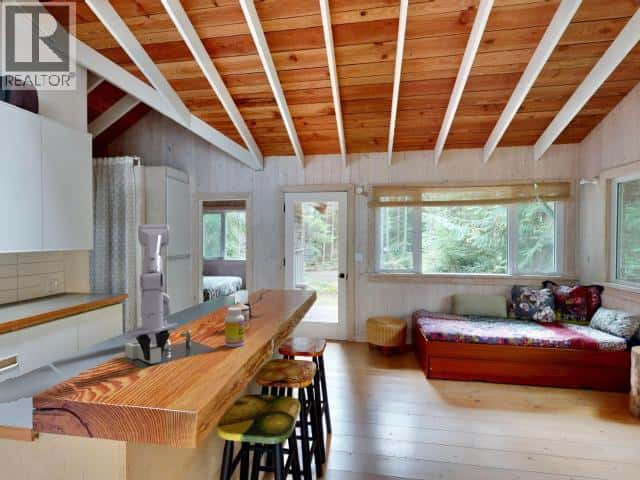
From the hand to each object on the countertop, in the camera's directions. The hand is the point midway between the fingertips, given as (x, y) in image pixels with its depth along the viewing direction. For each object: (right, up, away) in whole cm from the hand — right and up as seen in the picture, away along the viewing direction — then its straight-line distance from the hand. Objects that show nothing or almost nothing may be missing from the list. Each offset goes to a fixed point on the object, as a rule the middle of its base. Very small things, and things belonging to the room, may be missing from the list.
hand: (153, 358), depth 106 cm
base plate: (+1, -2, +10) cm, 10 cm away
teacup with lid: (+16, -3, +45) cm, 48 cm away
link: (-4, -1, +4) cm, 6 cm away
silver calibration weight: (-2, -2, +14) cm, 14 cm away
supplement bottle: (+20, -2, +20) cm, 28 cm away
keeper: (+4, -2, +15) cm, 15 cm away
